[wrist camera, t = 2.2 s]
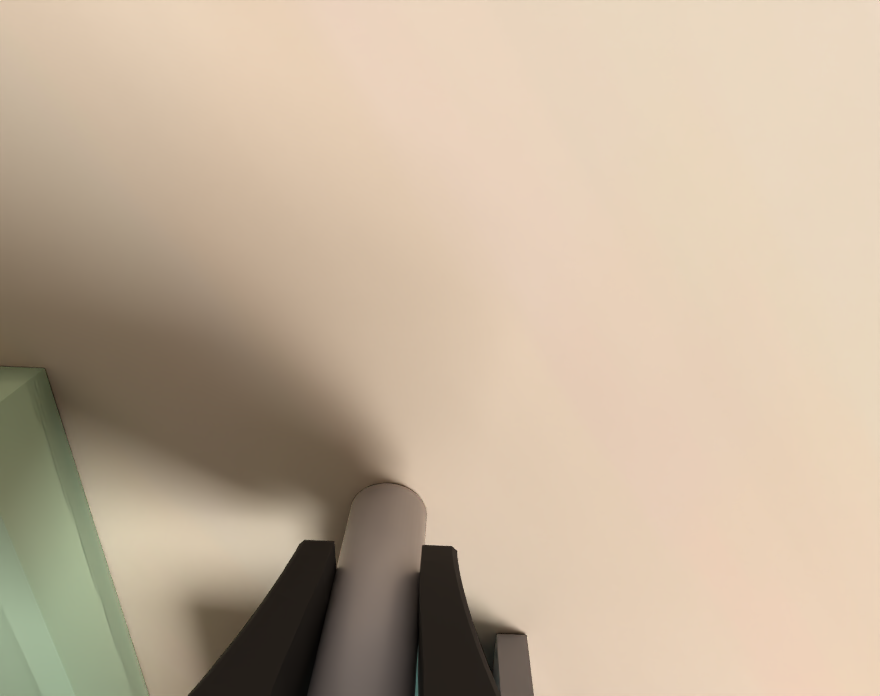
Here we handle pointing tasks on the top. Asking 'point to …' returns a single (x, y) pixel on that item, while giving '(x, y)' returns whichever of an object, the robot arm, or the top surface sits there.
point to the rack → (512, 666)
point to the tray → (53, 561)
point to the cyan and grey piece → (374, 599)
